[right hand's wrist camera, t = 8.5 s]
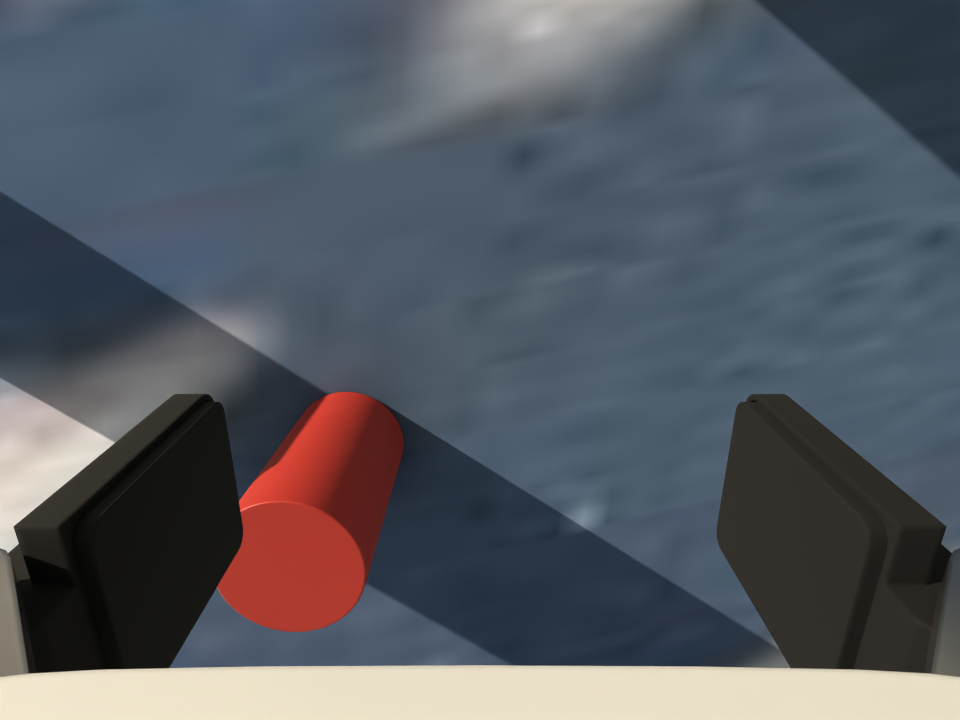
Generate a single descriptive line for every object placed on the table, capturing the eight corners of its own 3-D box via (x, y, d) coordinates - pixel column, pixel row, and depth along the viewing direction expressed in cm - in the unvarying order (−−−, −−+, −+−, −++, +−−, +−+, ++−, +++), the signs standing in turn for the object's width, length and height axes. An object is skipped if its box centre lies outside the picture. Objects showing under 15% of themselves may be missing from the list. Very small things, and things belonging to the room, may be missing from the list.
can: (279, 458, 31) (185, 592, 21) (325, 372, 29) (246, 474, 20) (373, 505, 31) (324, 655, 22) (422, 423, 30) (393, 546, 20)
